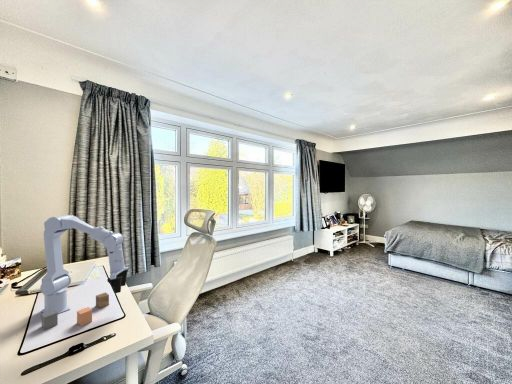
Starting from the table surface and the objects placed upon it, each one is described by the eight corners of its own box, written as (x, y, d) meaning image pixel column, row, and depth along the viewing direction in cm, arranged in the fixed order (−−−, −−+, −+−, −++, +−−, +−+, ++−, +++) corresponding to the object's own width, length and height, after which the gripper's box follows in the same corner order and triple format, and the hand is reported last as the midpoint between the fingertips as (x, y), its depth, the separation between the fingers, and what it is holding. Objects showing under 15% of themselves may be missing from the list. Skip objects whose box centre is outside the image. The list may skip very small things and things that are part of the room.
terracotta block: (76, 322, 92) (76, 311, 92) (88, 318, 95) (88, 306, 95) (80, 326, 90) (80, 314, 90) (92, 321, 93) (92, 309, 93)
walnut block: (95, 305, 105) (95, 295, 105) (105, 302, 109) (105, 292, 108) (99, 308, 103) (99, 298, 103) (108, 304, 106) (108, 294, 106)
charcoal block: (41, 326, 90) (41, 314, 89) (54, 321, 93) (54, 309, 93) (44, 329, 87) (44, 317, 87) (57, 324, 91) (57, 312, 91)
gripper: (121, 262, 95) (125, 293, 95) (130, 254, 109) (133, 281, 109) (102, 266, 93) (107, 297, 93) (114, 257, 107) (117, 284, 107)
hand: (120, 289), depth 101 cm, fingers open, 7 cm apart
